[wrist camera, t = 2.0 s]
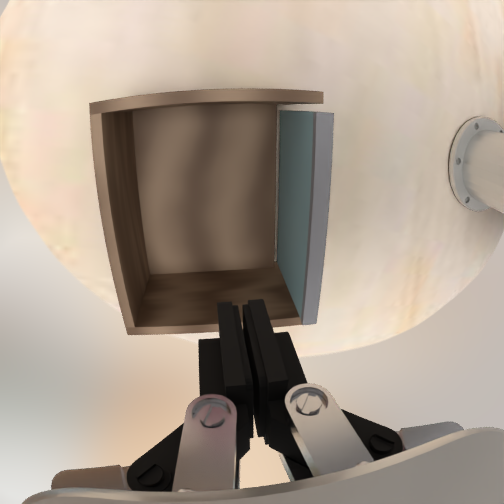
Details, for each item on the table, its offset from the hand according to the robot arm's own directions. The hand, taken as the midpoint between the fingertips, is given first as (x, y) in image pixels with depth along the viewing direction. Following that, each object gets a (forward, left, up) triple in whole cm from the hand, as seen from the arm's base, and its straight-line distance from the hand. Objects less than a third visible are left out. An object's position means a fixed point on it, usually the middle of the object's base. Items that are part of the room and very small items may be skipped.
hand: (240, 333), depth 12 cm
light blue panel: (-6, 0, -20) cm, 21 cm away
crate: (+1, 0, -21) cm, 21 cm away
